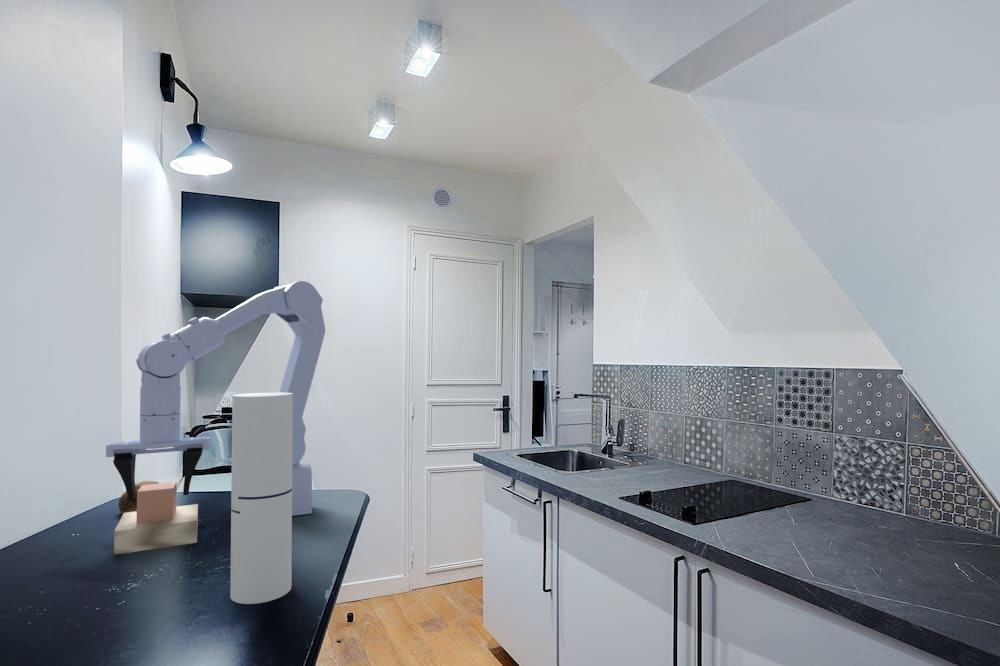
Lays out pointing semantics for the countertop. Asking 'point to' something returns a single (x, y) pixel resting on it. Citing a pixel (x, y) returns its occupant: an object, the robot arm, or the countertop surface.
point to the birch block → (156, 531)
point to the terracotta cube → (156, 502)
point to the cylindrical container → (261, 497)
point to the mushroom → (132, 505)
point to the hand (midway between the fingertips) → (159, 496)
